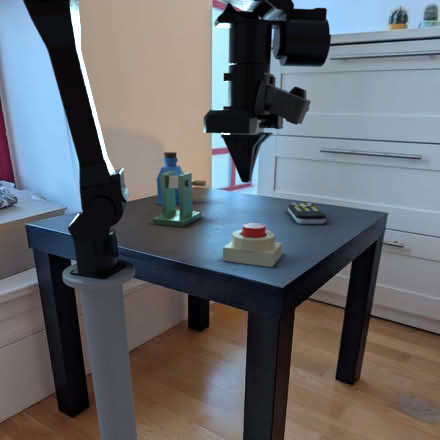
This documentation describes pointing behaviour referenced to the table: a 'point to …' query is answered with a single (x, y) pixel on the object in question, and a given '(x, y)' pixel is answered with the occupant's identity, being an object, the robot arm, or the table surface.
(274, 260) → the control box
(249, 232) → the button
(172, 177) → the lever
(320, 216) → the remote control
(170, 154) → the perfume bottle
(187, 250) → the table surface
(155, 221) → the bracket
